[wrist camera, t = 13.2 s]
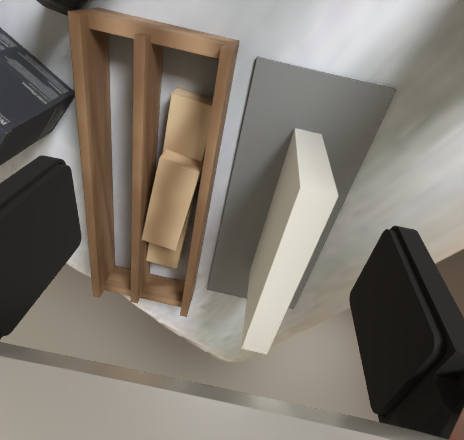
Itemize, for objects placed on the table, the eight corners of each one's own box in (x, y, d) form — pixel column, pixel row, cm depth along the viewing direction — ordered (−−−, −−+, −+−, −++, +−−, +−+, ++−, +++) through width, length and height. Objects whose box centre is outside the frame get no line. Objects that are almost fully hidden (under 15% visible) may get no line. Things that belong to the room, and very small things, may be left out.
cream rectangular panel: (321, 134, 36) (338, 196, 25) (269, 274, 49) (266, 354, 38) (294, 127, 36) (300, 187, 25) (250, 270, 49) (241, 348, 38)
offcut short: (204, 162, 37) (199, 172, 35) (180, 239, 44) (175, 250, 42) (165, 148, 37) (159, 157, 35) (147, 228, 44) (141, 239, 42)
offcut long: (219, 98, 36) (214, 106, 34) (181, 255, 50) (176, 269, 48) (178, 86, 36) (171, 93, 33) (152, 247, 50) (146, 260, 47)
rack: (239, 40, 32) (232, 49, 28) (194, 289, 53) (186, 316, 49) (97, 7, 32) (67, 11, 27) (108, 269, 53) (93, 296, 48)
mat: (395, 89, 33) (396, 90, 32) (293, 306, 53) (293, 308, 52) (257, 56, 33) (257, 57, 32) (207, 287, 53) (207, 289, 52)
